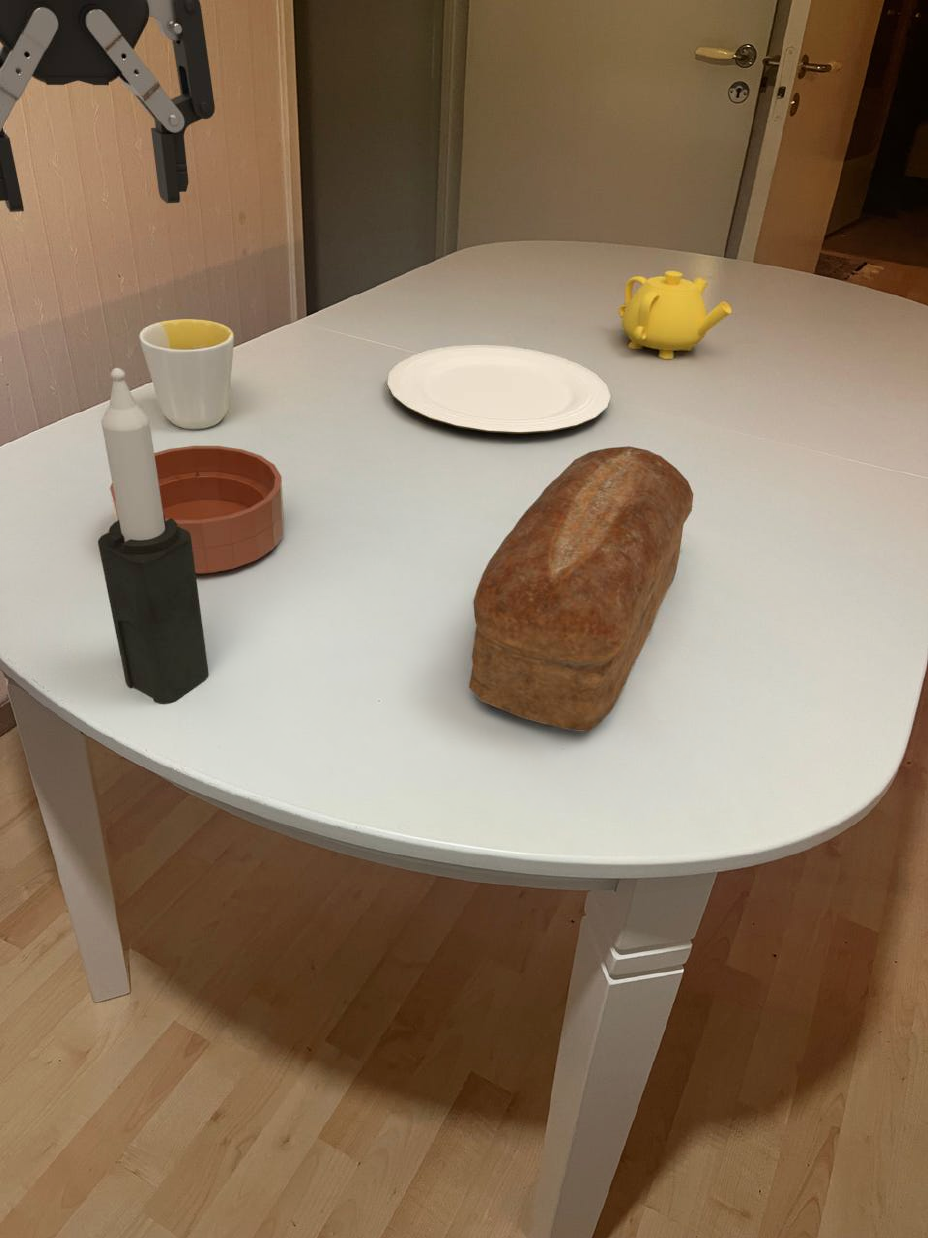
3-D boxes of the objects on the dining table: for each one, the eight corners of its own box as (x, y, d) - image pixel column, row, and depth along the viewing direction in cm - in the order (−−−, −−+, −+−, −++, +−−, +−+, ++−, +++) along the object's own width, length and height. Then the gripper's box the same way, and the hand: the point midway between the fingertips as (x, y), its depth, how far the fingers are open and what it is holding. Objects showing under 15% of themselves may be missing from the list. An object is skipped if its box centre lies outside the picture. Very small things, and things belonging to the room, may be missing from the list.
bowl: (134, 594, 81) (124, 535, 77) (110, 512, 92) (100, 457, 88) (303, 563, 86) (300, 507, 83) (262, 489, 97) (258, 437, 94)
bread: (444, 713, 71) (453, 565, 63) (568, 532, 94) (586, 407, 86) (596, 764, 67) (626, 614, 59) (686, 563, 91) (716, 436, 83)
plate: (573, 465, 106) (575, 450, 105) (347, 413, 114) (347, 399, 113) (631, 381, 129) (633, 368, 128) (439, 343, 137) (440, 330, 136)
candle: (215, 673, 73) (177, 367, 58) (166, 708, 69) (112, 391, 55) (169, 649, 75) (121, 347, 60) (119, 682, 71) (55, 369, 57)
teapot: (721, 366, 136) (738, 288, 130) (630, 363, 135) (643, 285, 128) (694, 333, 148) (709, 260, 141) (610, 330, 146) (621, 257, 140)
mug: (205, 445, 105) (195, 355, 99) (133, 425, 108) (119, 337, 102) (273, 404, 115) (268, 320, 109) (205, 387, 118) (197, 305, 112)
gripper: (166, -145, 49) (199, 185, 59) (-142, -179, 43) (-50, 196, 53) (208, -150, 44) (236, 213, 53) (-135, -189, 38) (-35, 228, 47)
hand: (94, 204), depth 53 cm, fingers open, 8 cm apart
